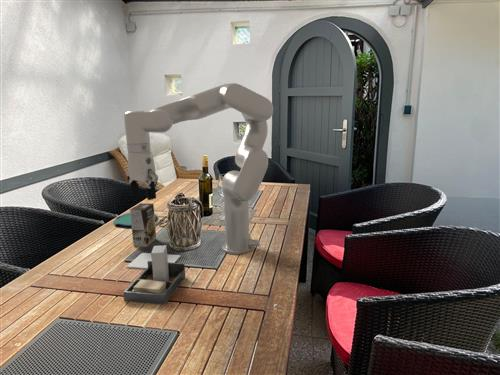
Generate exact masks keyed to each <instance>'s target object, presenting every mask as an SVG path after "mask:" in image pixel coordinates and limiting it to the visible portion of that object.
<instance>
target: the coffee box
mask: <svg viewBox="0 0 500 375" xmlns="http://www.w3.org/2000/svg"><path fill="white" fill-rule="evenodd" d="M129 211H130V212H129V213H131V225H132V226H131V233H132V234H131V235H132V244H133V247H141V248H142V247H143V248H147V247H149V246H150V245H151V244H152V243H153V242H154V241H156V240H157V230H156V226H155V224H156V219H155V217H154V214H155V206H154V203H139V204H137V205H134V206H133V207H132V208H130V209H129Z"/></svg>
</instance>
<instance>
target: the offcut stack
mask: <svg viewBox="0 0 500 375" xmlns="http://www.w3.org/2000/svg"><path fill="white" fill-rule="evenodd" d="M151 280H152V279H146V280H140V281H139V282H138V283H137V284H136V285H135V286H134V287H133V288H134V289H133V290H132V292H142V293H154V294H164V293H165V292H166V282H163V281H151Z"/></svg>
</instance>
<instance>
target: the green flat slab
mask: <svg viewBox="0 0 500 375" xmlns="http://www.w3.org/2000/svg"><path fill="white" fill-rule="evenodd" d="M154 217H155V220H157V218H158V215H157V214H156V213H154ZM165 218H168V216H167V215H165V216H164V217H163V218H161V219H159V221H157V222H155V227H156V226H159V227H160V228H162V227H166V224H165V225H164V223H167V222H166V221H165V222H164V219H165ZM113 225H114V226H115V225H118V226H120V227H132V225H131V213H130V212H127V213H123V214H121V215H119V216H118V217H116V218H115V219H114V220H113Z"/></svg>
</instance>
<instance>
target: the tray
mask: <svg viewBox="0 0 500 375" xmlns="http://www.w3.org/2000/svg"><path fill="white" fill-rule="evenodd" d="M147 263H148V268H147V269H144V270H143V271H142V272H141V274H139V275H138V277H136V279H134V280H133V281H132V283H131V284H129V285H128V286H127V288H126V289H124V291H123V292H122V293H123V300H124V302H133V303H145V304H152V305H153V304H156V305H164V306H165V305H166V304H167V303H168V302H169V300H170V299H171V297H172V296H173V295H174V294H175V292H176V291H177V289H178V288H179V286H180V285H181V284H182V282H183V281H184V280H185V279H186V268H185V267H186V265H185V263H182V262H181V263H179V262H176V263H169V262H168V269H169V278H170V277H171V278H175V279H174V280H173V281H170V280H168V281H163V282H166V292H165V293H164V294H154V293H142V292H132V290H133V289H134V288H133V287H134V286H135V285H136V284H137V283H138V282H139V281H140V280H148V279H149V278H150V276H153V268H152V261H148V262H147ZM150 280H151V281H159V280H154V279H150Z"/></svg>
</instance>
